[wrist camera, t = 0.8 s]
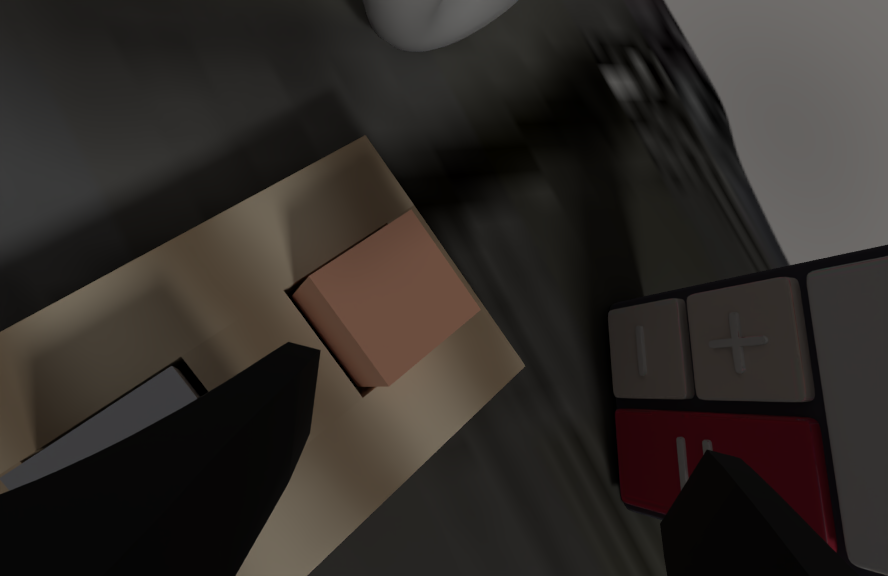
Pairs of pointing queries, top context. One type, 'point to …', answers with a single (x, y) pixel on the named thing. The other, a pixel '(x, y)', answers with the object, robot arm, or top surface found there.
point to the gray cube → (109, 426)
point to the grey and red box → (764, 393)
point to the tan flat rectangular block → (257, 350)
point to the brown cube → (386, 302)
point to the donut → (430, 20)
